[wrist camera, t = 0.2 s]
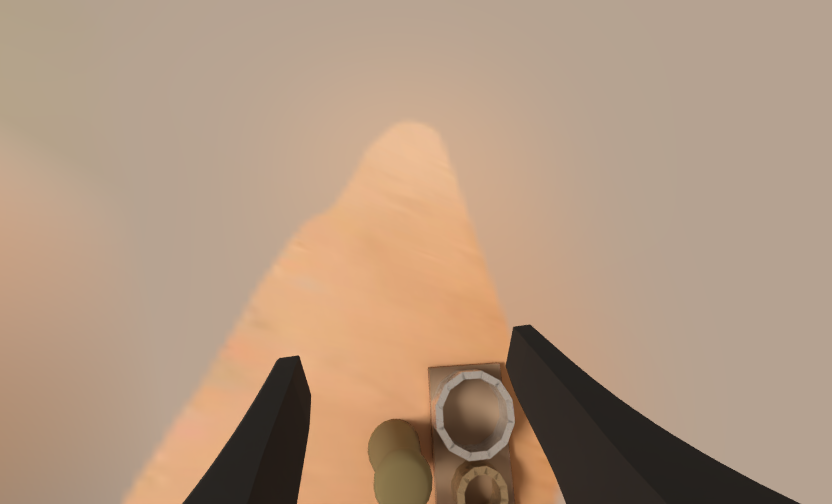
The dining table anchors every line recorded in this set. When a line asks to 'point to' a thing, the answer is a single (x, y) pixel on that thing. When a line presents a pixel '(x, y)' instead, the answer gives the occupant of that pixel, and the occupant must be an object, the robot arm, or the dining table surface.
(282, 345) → the dining table surface
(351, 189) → the dining table surface
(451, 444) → the wide steel ring
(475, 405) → the smooth grayish brown board
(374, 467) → the olive bulbous peg
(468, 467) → the narrow bronze ring
